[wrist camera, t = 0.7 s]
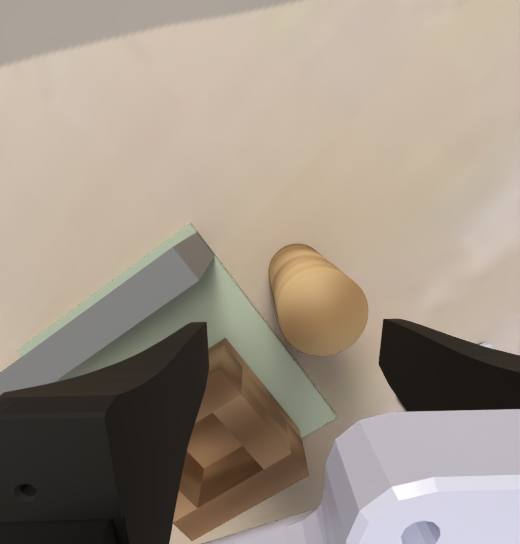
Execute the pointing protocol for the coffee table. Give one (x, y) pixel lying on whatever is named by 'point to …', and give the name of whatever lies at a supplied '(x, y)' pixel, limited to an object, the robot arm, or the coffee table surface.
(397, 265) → the coffee table surface
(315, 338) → the oak dowel
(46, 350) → the slate stop wall
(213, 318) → the sage rubber mat
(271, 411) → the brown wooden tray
